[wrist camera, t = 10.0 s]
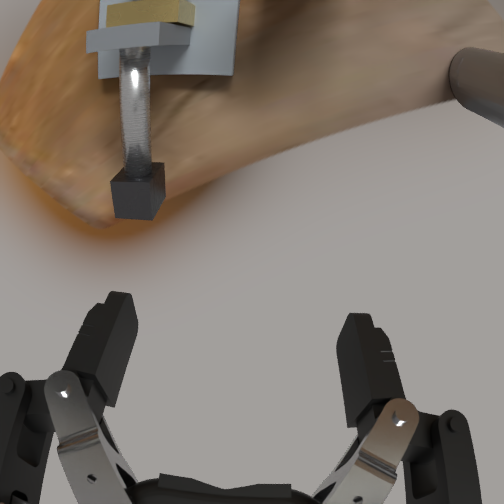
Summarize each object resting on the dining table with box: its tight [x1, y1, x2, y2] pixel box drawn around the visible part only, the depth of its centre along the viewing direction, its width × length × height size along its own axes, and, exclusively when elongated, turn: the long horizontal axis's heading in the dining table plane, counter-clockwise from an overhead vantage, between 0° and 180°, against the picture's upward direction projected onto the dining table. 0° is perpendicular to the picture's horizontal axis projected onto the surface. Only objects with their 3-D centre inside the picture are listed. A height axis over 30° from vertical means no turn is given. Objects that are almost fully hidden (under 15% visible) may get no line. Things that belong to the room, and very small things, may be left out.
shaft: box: [110, 46, 166, 220], centre depth 27 cm, size 4×17×5 cm, turn 175°
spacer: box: [106, 0, 195, 28], centre depth 23 cm, size 7×2×7 cm, turn 85°
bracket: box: [86, 0, 240, 79], centre depth 22 cm, size 16×14×13 cm
